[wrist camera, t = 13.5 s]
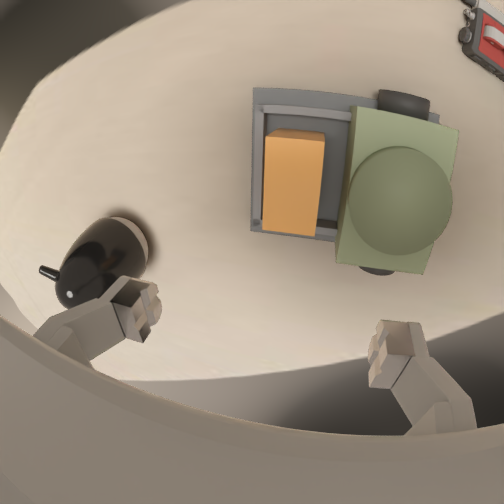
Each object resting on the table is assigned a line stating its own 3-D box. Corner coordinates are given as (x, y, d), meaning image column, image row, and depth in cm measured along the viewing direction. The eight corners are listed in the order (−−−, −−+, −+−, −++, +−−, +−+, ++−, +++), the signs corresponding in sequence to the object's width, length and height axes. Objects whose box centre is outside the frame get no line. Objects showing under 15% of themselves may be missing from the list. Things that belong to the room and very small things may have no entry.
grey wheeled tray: (436, 105, 22) (474, 111, 14) (406, 256, 31) (424, 301, 24) (255, 79, 25) (230, 72, 18) (252, 234, 34) (231, 275, 27)
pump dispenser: (113, 192, 36) (33, 245, 23) (169, 236, 38) (102, 308, 25) (96, 240, 42) (33, 295, 29) (145, 279, 43) (89, 347, 30)
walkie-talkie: (541, 55, 12) (408, -34, 14) (561, 56, 8) (418, -49, 10) (533, 110, 17) (397, 22, 18) (554, 115, 13) (408, 11, 15)
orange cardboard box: (324, 132, 26) (324, 141, 20) (316, 209, 30) (314, 239, 24) (278, 127, 26) (265, 136, 21) (275, 204, 31) (262, 232, 25)
